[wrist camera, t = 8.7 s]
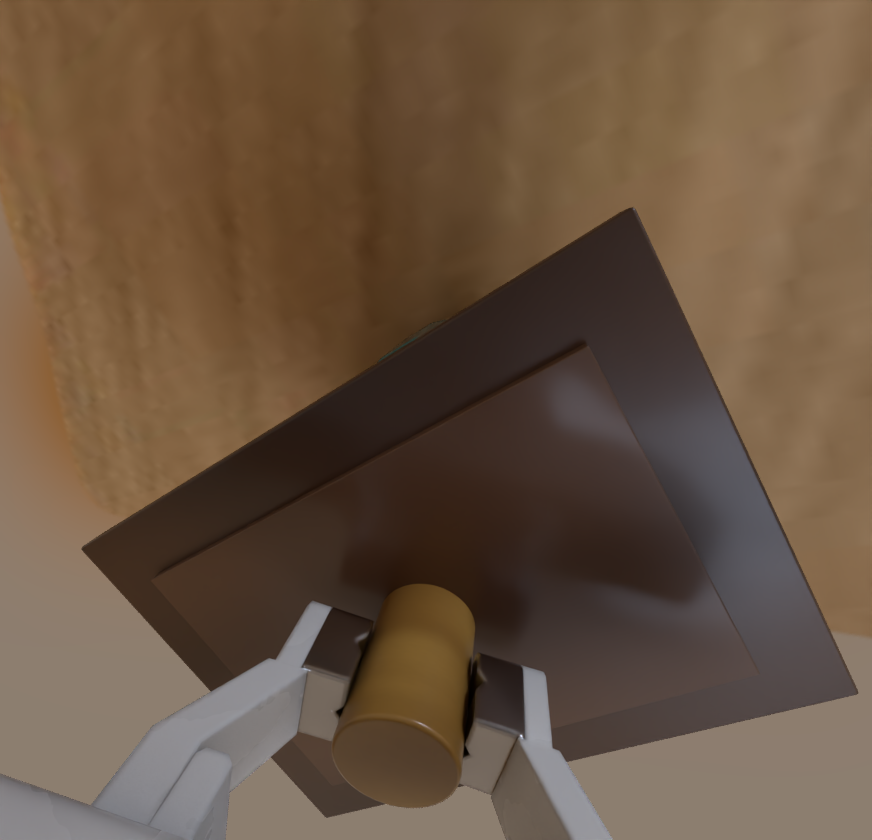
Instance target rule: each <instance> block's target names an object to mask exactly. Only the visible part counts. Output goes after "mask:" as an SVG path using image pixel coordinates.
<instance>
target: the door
mask: <svg viewBox="0 0 872 840" xmlns="http://www.w3.org/2000/svg"><path fill="white" fill-rule="evenodd" d="M82 550H83V552H84V553H85V554H86V555H87V556H88V557H89V558H90V559H91V561H92V562H93V563H94V564H95V565H96V566H97V567H98V568H99V569H100V570H101V571H102V573H103V574H104V575H105V576H106V577H107V578H108V579H109V580H110V581H111V582H112V584H113V585H114V586H115V587H116V588H117V589H118V590H119V591H120V592H121V593H122V595H124V597H125V598H126V599H127V600H128V601H129V602H130V603H131V604H132V605H133V607H134V608H135V609H136V610H137V611H138V612H139V613H140V614H141V615H142V616H143V618H144V619H145V620H146V621H147V622H148V623H149V624H150V625H151V626H152V627H153V628H154V630H156V632H157V633H158V634H159V635H160V636H161V637H162V638H163V640H164V641H165V642H166V643H167V644H168V645H169V646H170V647H171V648H172V649H173V650H174V652H175V653H176V654H177V655H178V656H179V657H180V658H181V659H182V660H183V661H184V663H185V664H186V665H187V666H188V667H189V668H190V669H191V670H192V671H193V672H194V673H195V675H196V676H197V677H198V678H199V679H200V680H201V681H202V682H203V683H204V684H205V686H206V687H207V688H208V689H209V690H210V691H213V690H215V689H216V688H218V687H220V686H222V685H223V684H225V683H227V682H228V681H230V680H232V679H234V678H235V677H237V676H239V675H240V674H242V673H244V672H246V671H247V670H249V669H251V668H252V667H254V666H256V665H258V664H259V663H261V662H263V661H265V660H266V659H268V658H271V659H274V660H276V658H277V656H278V654H279V653H280V651H281V649H282V648H283V646H284V644H285V643H286V641H287V639H288V638H289V636H290V634H291V632H292V631H293V629H294V627H295V626H296V624H297V622H298V621H299V619H300V617H301V616H302V614H303V612H304V610H305V609H306V607H307V605H308V604H309V603H310V602H311V601H315V602H318V603H321V604H324V605H327V606H330V607H334V608H337V609H340V610H343V611H346V612H349V613H352V614H355V615H358V616H361V617H364V618H367V619H370V620H373V621H374V625H373V630H372V634H371V637H370V639H369V642H368V645H367V648H366V650H365V653H364V656H363V658H362V660H361V663H360V665H359V668H358V671H357V674H356V677H355V680H354V683H353V685H352V688H351V691H350V693H349V696H348V699H347V701H346V704H345V706H344V708H343V711H342V714H341V717H340V719H339V722H338V725H337V727H336V730H335V733H334V736H333V739H332V741H329V740H325V739H322V738H319V737H315V736H312V735H308V734H305V733H302V732H298V731H297V734H296V735H295V736H294V737H293V738H292V739H291V740H290V741H288V742H287V743H286V744H285V745H284V746H283V747H282V748H280V749H279V750H278V751H277V752H276V753H275V754H274V755H272V756H271V758H272V759H273V760H274V761H275V762H276V763H277V765H278V766H279V767H280V768H281V769H282V770H283V771H284V772H285V773H286V774H287V775H288V777H289V778H290V779H291V780H292V781H293V782H294V783H295V784H296V785H297V786H298V788H299V789H300V790H301V791H302V792H303V793H304V794H305V795H306V796H307V797H308V799H309V800H310V801H311V802H312V803H313V804H314V805H315V806H316V807H317V808H318V809H319V811H320V812H321V813H322V814H323V815H324V816H325V817H327V818H328V817H332V816H336V815H340V814H345V813H349V812H353V811H358V810H362V809H366V808H371V807H375V806H379V805H383V804H389V805H392V806H397V807H404V808H423V807H429V806H433V805H436V804H438V803H441V802H443V801H444V800H446V799H447V798H449V797H450V796H451V795H452V794H453V793H454V791H455V790H456V788H457V787H461V786H465V785H462V784H459V783H460V780H461V776H462V766H463V755H464V744H465V734H466V723H467V712H468V701H469V690H470V680H471V672H472V663H473V661H474V658H475V656H476V654H477V652H479V653H482V654H486V655H489V656H492V657H496V658H499V659H502V660H506V661H509V662H513V663H516V664H519V665H520V666H521V665H522V666H525V667H529V668H532V669H535V670H539V671H542V672H544V674H545V676H546V683H547V693H548V704H549V715H550V725H551V736H552V747H553V749H556V750H559V751H560V752H561V754H562V755H563V757H564V759H565V760H566V762H569V761H573V760H577V759H582V758H586V757H590V756H594V755H599V754H603V753H607V752H612V751H616V750H620V749H625V748H628V747H633V746H637V745H642V744H646V743H650V742H654V741H659V740H663V739H668V738H672V737H676V736H680V735H685V734H689V733H693V732H698V731H702V730H706V729H711V728H714V727H719V726H724V725H728V724H732V723H736V722H741V721H745V720H749V719H754V718H758V717H762V716H767V715H771V714H775V713H779V712H784V711H788V710H792V709H796V708H801V707H805V706H809V705H814V704H818V703H822V702H827V701H831V700H835V699H840V698H844V697H848V696H852V695H856V694H858V690H857V688H856V686H855V683H854V681H853V679H852V677H851V675H850V673H849V670H848V668H847V666H846V664H845V662H844V660H843V657H842V655H841V653H840V651H839V649H838V647H837V644H836V642H835V640H834V638H833V636H832V634H831V631H830V629H829V627H828V625H827V623H826V621H825V618H824V616H823V614H822V612H821V610H820V608H819V605H818V603H817V601H816V599H815V597H814V595H813V592H812V590H811V588H810V586H809V584H808V582H807V579H806V577H805V575H804V573H803V571H802V569H801V566H800V564H799V562H798V560H797V558H796V556H795V553H794V551H793V549H792V547H791V545H790V543H789V540H788V538H787V536H786V534H785V532H784V530H783V527H782V525H781V523H780V521H779V519H778V517H777V515H776V512H775V510H774V508H773V506H772V504H771V502H770V499H769V497H768V495H767V493H766V491H765V489H764V486H763V484H762V482H761V480H760V478H759V476H758V473H757V471H756V469H755V467H754V465H753V463H752V460H751V458H750V456H749V454H748V452H747V450H746V447H745V445H744V443H743V441H742V439H741V437H740V434H739V432H738V430H737V428H736V426H735V424H734V421H733V419H732V417H731V415H730V413H729V411H728V408H727V406H726V404H725V402H724V400H723V398H722V395H721V393H720V391H719V389H718V387H717V385H716V382H715V380H714V378H713V376H712V374H711V372H710V369H709V367H708V365H707V363H706V361H705V359H704V357H703V354H702V352H701V350H700V348H699V346H698V344H697V341H696V339H695V337H694V335H693V333H692V331H691V328H690V326H689V324H688V322H687V320H686V318H685V315H684V313H683V311H682V309H681V307H680V305H679V302H678V300H677V298H676V296H675V294H674V292H673V289H672V287H671V285H670V283H669V281H668V279H667V276H666V274H665V272H664V270H663V268H662V266H661V263H660V261H659V259H658V257H657V255H656V253H655V250H654V248H653V246H652V244H651V242H650V240H649V237H648V235H647V233H646V231H645V229H644V227H643V224H642V222H641V220H640V218H639V216H638V214H637V211H636V209H634V208H633V207H632V208H628V209H626V210H624V211H622V212H620V213H618V214H617V215H615V216H613V217H612V218H610V219H608V220H607V221H605V222H604V223H602V224H600V225H599V226H597V227H596V228H594V229H592V230H591V231H589V232H588V233H586V234H584V235H583V236H581V237H579V238H578V239H576V240H575V241H573V242H571V243H570V244H568V245H567V246H565V247H563V248H562V249H560V250H559V251H557V252H555V253H554V254H552V255H550V256H549V257H547V258H546V259H544V260H542V261H541V262H539V263H538V264H536V265H534V266H533V267H531V268H529V269H528V270H526V271H525V272H523V273H521V274H520V275H518V276H517V277H515V278H513V279H512V280H510V281H509V282H507V283H505V284H504V285H502V286H500V287H499V288H497V289H496V290H494V291H492V292H491V293H489V294H488V295H486V296H484V297H483V298H481V299H479V300H478V301H476V302H475V303H473V304H471V305H470V306H468V307H467V308H465V309H463V310H462V311H460V312H459V313H457V314H455V315H454V316H452V317H450V318H449V319H447V320H446V321H444V322H442V323H441V324H439V325H438V326H436V327H434V328H433V329H431V330H430V331H428V332H426V333H425V334H423V335H421V336H420V337H418V338H417V339H415V340H413V341H412V342H410V343H409V344H407V345H405V346H404V347H402V348H400V349H399V350H397V351H396V352H394V353H392V354H391V355H389V356H388V357H386V358H384V359H383V360H381V361H380V362H378V363H376V364H375V365H373V366H371V367H370V368H368V369H367V370H365V371H363V372H362V373H360V374H359V375H357V376H355V377H354V378H352V379H351V380H349V381H347V382H346V383H344V384H342V385H341V386H339V387H338V388H336V389H334V390H333V391H331V392H330V393H328V394H326V395H325V396H323V397H321V398H320V399H318V400H317V401H315V402H313V403H312V404H310V405H309V406H307V407H305V408H304V409H302V410H301V411H299V412H297V413H296V414H294V415H292V416H291V417H289V418H288V419H286V420H284V421H283V422H281V423H280V424H278V425H276V426H275V427H273V428H272V429H270V430H268V431H267V432H265V433H263V434H262V435H260V436H259V437H257V438H255V439H254V440H252V441H251V442H249V443H247V444H246V445H244V446H242V447H241V448H239V449H238V450H236V451H234V452H233V453H231V454H230V455H228V456H226V457H225V458H223V459H222V460H220V461H218V462H217V463H215V464H213V465H212V466H210V467H209V468H207V469H205V470H204V471H202V472H201V473H199V474H197V475H196V476H194V477H192V478H191V479H189V480H188V481H186V482H184V483H183V484H181V485H180V486H178V487H176V488H175V489H173V490H172V491H170V492H168V493H167V494H165V495H163V496H162V497H160V498H159V499H157V500H155V501H154V502H152V503H151V504H149V505H147V506H146V507H144V508H143V509H141V510H139V511H138V512H136V513H134V514H133V515H131V516H130V517H128V518H126V519H125V520H123V521H122V522H120V523H118V524H117V525H115V526H114V527H112V528H110V529H109V530H107V531H105V532H104V533H102V534H101V535H99V536H98V537H96V538H95V539H93V540H92V541H90V542H89V543H87V544H86V545H84V546H83V547H82Z"/></svg>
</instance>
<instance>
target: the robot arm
mask: <svg viewBox="0 0 872 840" xmlns="http://www.w3.org/2000/svg"><path fill="white" fill-rule="evenodd" d="M373 625H374V621H373V620H370V619H367V618H364V617H361V616H358V615H355V614H352V613H349V612H346V611H343V610H340V609H337V608H334V607H330V606H327V605H324V604H321V603H318V602H315V601H311V602H310V603H309V604H308V605H307V607H306V609H305V610H304V612H303V614H302V616H301V617H300V619H299V621H298V622H297V624H296V626H295V627H294V629H293V631H292V632H291V634H290V636H289V638H288V639H287V641H286V643H285V644H284V646H283V648H282V649H281V651H280V653H279V654H278V656H277V658H276V660H274V659H271V658H268V659H266V660H265V661H263V662H261V663H259V664H258V665H256V666H254V667H252V668H251V669H249V670H247V671H246V672H244V673H242V674H240V675H239V676H237V677H235V678H234V679H232V680H230V681H228V682H227V683H225V684H223V685H222V686H220V687H218V688H216V689H215V690H213V691H211V692H210V693H208V694H206V695H204V696H203V697H201V698H199V699H197V700H196V701H194V702H192V703H191V704H189V705H187V706H186V707H184V708H182V709H181V710H179V711H177V712H175V713H173V714H172V715H170V716H168V717H167V718H165V719H163V720H161V721H160V722H158V723H156V724H155V725H153V726H152V727H151V728H150V730H149V731H148V733H146V735H145V736H144V737H143V739H142V740H141V741H140V743H139V744H138V745H137V746H136V748H135V749H134V750H133V752H132V753H131V754H130V755H129V757H128V758H127V759H126V761H125V762H124V763H123V764H122V766H121V767H120V768H119V770H118V771H117V772H116V774H115V775H114V776H113V777H112V779H111V780H110V781H109V783H108V784H107V785H106V786H105V788H104V789H103V790H102V792H101V793H100V794H99V795H98V797H97V798H96V799H95V801H94V802H93V803H92V805H88V804H85V803H83V802H80V801H77V800H74V799H71V798H68V797H66V796H63V795H59V794H57V793H54V792H51V791H48V790H46V789H43V788H40V787H37V786H34V785H32V784H29V783H26V782H23V781H20V780H17V779H14V778H11V777H9V776H6V775H3V774H0V840H225V837H226V826H227V815H228V805H229V793H230V792H231V791H232V790H234V789H235V788H236V787H237V786H238V785H239V784H240V783H242V782H243V781H244V780H245V779H246V778H247V777H248V776H250V774H252V773H253V772H254V771H255V770H256V769H258V768H259V767H260V766H261V765H262V764H263V763H264V762H265V761H267V760H268V759H269V758H270V757H271V756H272V755H274V754H275V753H276V752H277V751H278V750H279V749H280V748H282V747H283V746H284V745H285V744H286V743H287V742H288V741H290V740H291V739H292V738H293V737H294V736H295V735H296V734H297V731H298V732H302V733H305V734H308V735H312V736H315V737H319V738H322V739H325V740H329V741H332V739H333V736H334V733H335V730H336V727H337V725H338V722H339V719H340V717H341V714H342V711H343V708H344V706H345V704H346V701H347V699H348V696H349V693H350V691H351V688H352V685H353V683H354V680H355V677H356V674H357V671H358V668H359V665H360V663H361V660H362V658H363V656H364V653H365V650H366V648H367V645H368V642H369V639H370V637H371V634H372V630H373ZM459 784H462V785H465V786H468V787H470V788H473V789H476V790H479V791H481V792H484V793H487V794H490V795H492V796H491V799H492V802H493V805H494V808H495V811H496V813H497V816H498V819H499V822H500V824H501V827H502V830H503V833H504V835H505V838H506V840H613V839H612V837H611V835H610V834H609V832H608V830H607V829H606V827H605V826H604V824H603V822H602V820H601V819H600V817H599V816H598V814H597V812H596V810H595V809H594V807H593V805H592V804H591V802H590V801H589V799H588V797H587V796H586V794H585V792H584V790H583V789H582V787H581V786H580V784H579V782H578V781H577V779H576V777H575V775H574V774H573V772H572V770H571V769H570V767H569V765H568V764H567V762H566V760H565V759H564V757H563V755H562V754H561V752H560V751H559V750H556V749H553V747H552V736H551V725H550V715H549V704H548V693H547V683H546V676H545V674H544V672H542V671H539V670H535V669H532V668H529V667H525V666H522V665H521V666H520V665H519V664H516V663H513V662H509V661H506V660H502V659H499V658H496V657H492V656H489V655H486V654H482V653H479V652H477V654H476V656H475V658H474V661H473V663H472V672H471V680H470V690H469V701H468V712H467V723H466V734H465V744H464V755H463V766H462V776H461V780H460V783H459Z"/></svg>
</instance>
